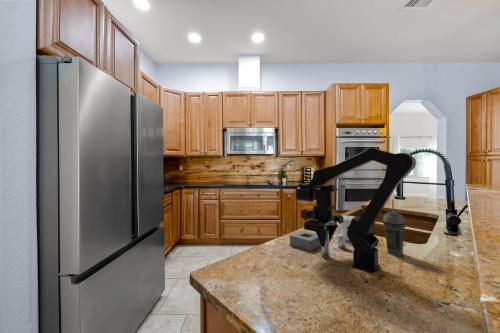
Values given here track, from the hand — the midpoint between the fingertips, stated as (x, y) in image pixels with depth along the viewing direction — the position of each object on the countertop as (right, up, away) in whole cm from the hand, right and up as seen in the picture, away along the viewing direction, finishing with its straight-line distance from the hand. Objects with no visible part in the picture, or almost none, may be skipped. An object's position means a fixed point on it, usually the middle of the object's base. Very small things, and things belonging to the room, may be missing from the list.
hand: (325, 245), depth 84 cm
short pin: (+10, -4, +9) cm, 14 cm away
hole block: (-4, -4, +13) cm, 14 cm away
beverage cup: (+26, -4, +1) cm, 27 cm away
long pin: (0, -4, 0) cm, 4 cm away
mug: (+16, -4, +20) cm, 26 cm away
